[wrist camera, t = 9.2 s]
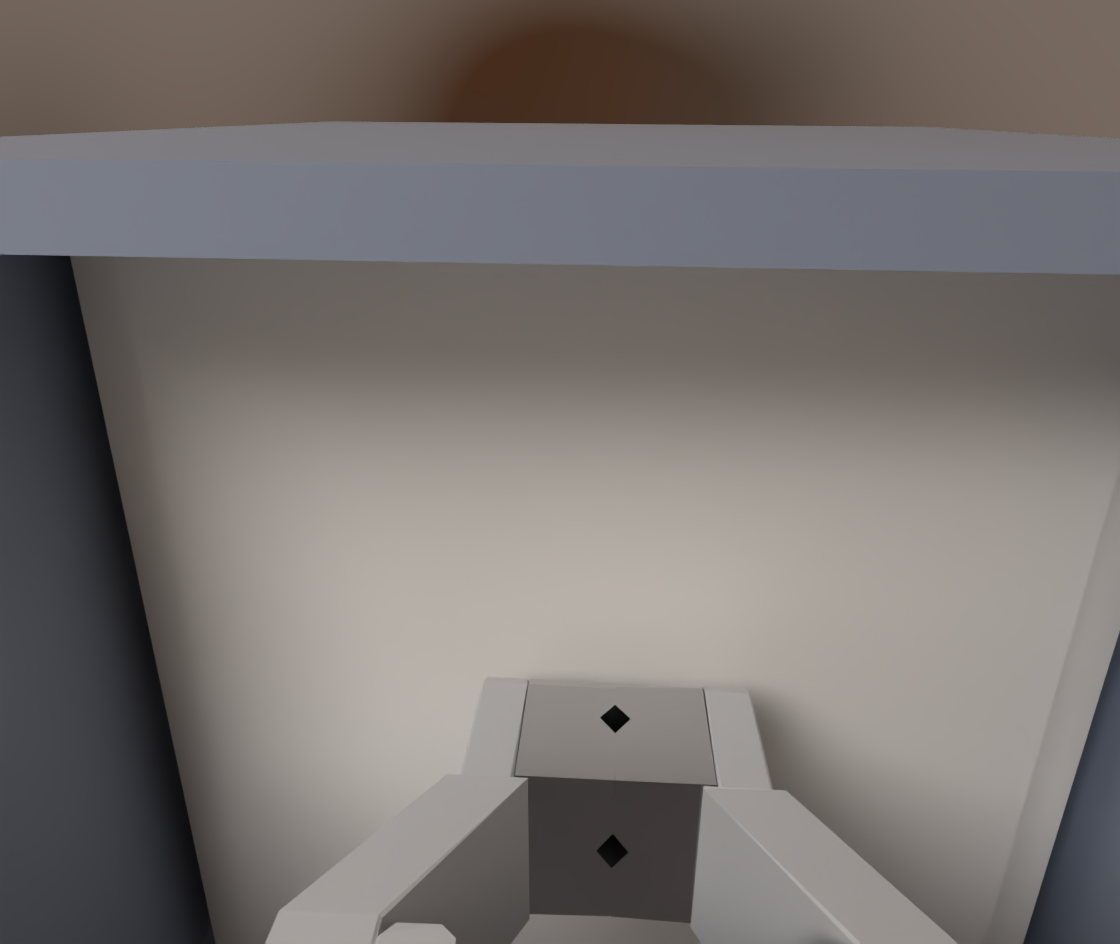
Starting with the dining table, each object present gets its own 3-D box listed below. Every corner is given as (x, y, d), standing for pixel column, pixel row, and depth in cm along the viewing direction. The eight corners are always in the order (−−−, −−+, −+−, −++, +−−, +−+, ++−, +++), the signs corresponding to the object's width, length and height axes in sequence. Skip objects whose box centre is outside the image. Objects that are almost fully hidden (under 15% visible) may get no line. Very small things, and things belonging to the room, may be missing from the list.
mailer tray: (1006, 999, 12) (1232, 267, 8) (216, 949, 12) (67, 247, 9) (770, 458, 30) (804, 156, 26) (455, 448, 31) (442, 152, 27)
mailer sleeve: (1191, 1304, 9) (1805, 179, 5) (40, 1210, 10) (-377, 152, 6) (852, 595, 23) (928, 127, 19) (372, 577, 24) (331, 121, 19)
